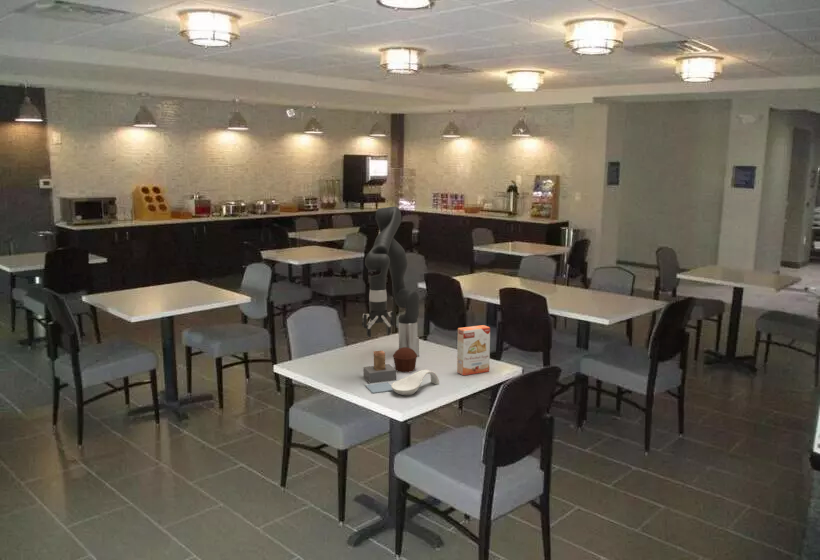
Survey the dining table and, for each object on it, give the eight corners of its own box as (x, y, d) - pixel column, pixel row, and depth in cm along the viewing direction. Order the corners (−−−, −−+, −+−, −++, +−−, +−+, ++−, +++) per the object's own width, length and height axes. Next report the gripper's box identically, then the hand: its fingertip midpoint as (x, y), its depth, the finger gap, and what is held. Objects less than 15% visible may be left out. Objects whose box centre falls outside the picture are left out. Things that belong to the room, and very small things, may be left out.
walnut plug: (382, 376, 291) (382, 350, 289) (385, 379, 288) (385, 352, 286) (374, 377, 290) (373, 351, 288) (376, 380, 286) (376, 353, 284)
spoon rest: (405, 400, 262) (405, 383, 260) (385, 393, 270) (385, 376, 269) (445, 386, 278) (445, 370, 277) (425, 380, 286) (425, 364, 285)
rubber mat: (387, 383, 282) (387, 382, 282) (395, 390, 273) (395, 389, 272) (365, 386, 278) (365, 385, 278) (372, 393, 269) (372, 392, 269)
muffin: (392, 366, 307) (392, 345, 305) (415, 365, 308) (415, 344, 306) (394, 373, 295) (393, 352, 293) (418, 372, 296) (418, 351, 294)
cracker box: (463, 376, 290) (463, 330, 287) (456, 372, 296) (456, 327, 292) (490, 371, 296) (490, 327, 293) (483, 368, 302) (483, 324, 298)
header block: (388, 373, 296) (388, 363, 295) (396, 379, 286) (396, 370, 286) (363, 376, 291) (363, 366, 291) (370, 383, 282) (369, 373, 281)
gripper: (390, 296, 289) (391, 332, 292) (359, 299, 284) (360, 335, 287) (396, 299, 282) (396, 336, 285) (364, 302, 277) (365, 339, 280)
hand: (378, 335), depth 286 cm, fingers open, 8 cm apart
